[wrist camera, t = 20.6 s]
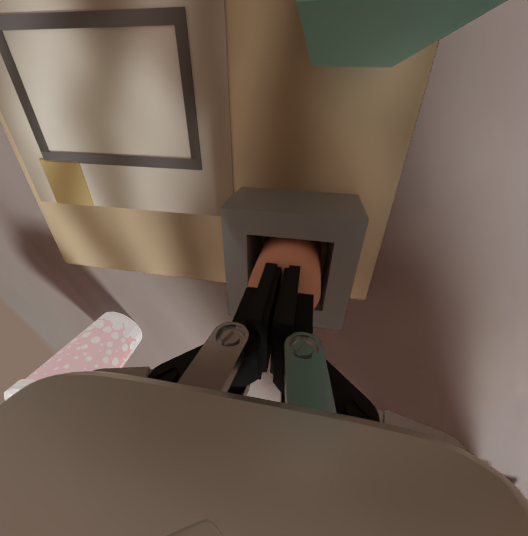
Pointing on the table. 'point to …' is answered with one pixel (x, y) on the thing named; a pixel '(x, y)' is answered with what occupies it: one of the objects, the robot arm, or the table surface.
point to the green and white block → (380, 28)
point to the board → (191, 124)
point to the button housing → (295, 227)
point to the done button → (292, 262)
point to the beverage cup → (90, 350)
